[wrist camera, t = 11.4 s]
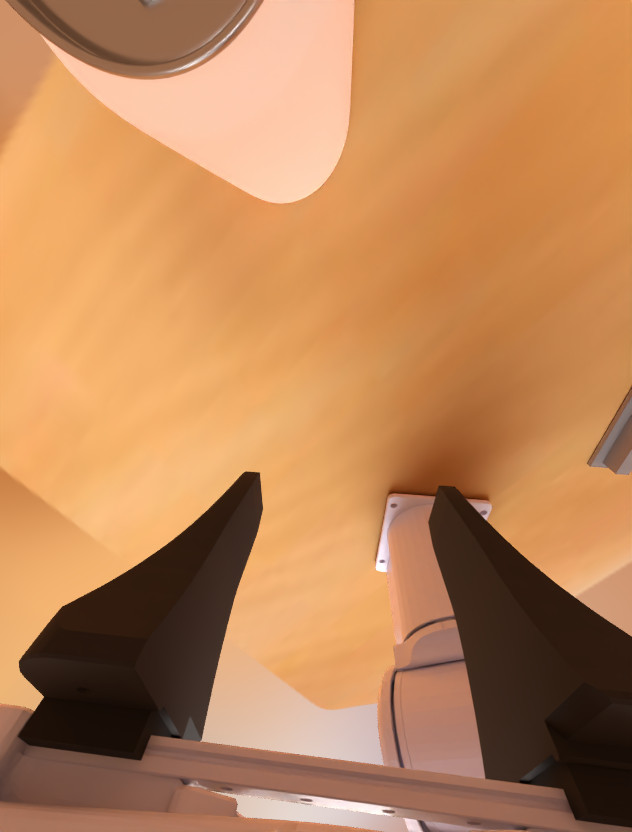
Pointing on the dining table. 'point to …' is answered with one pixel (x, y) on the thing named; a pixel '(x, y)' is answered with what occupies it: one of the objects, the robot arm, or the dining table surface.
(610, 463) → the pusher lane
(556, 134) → the dining table surface
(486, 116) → the dining table surface
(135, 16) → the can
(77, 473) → the dining table surface
